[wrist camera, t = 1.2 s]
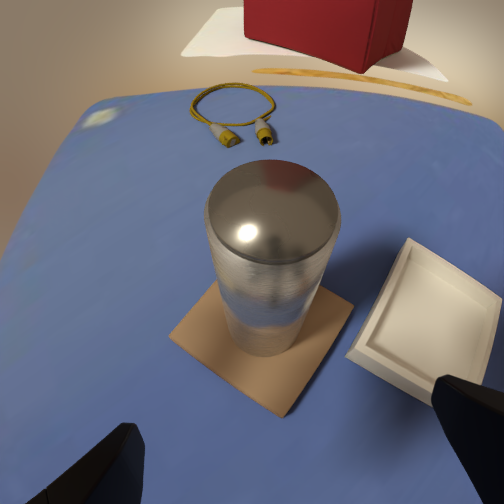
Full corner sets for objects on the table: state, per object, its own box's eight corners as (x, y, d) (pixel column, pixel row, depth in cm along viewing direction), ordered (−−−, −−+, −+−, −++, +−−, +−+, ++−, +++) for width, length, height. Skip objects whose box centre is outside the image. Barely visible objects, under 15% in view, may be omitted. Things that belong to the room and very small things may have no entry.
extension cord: (169, 148, 35) (166, 135, 34) (204, 87, 44) (203, 76, 42) (271, 156, 34) (271, 142, 33) (283, 92, 43) (284, 81, 41)
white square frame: (487, 310, 23) (502, 298, 21) (452, 418, 18) (470, 414, 16) (398, 252, 27) (408, 237, 25) (344, 356, 22) (354, 347, 20)
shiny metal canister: (313, 314, 23) (364, 192, 12) (273, 371, 21) (297, 293, 10) (255, 278, 24) (256, 141, 13) (213, 330, 22) (173, 216, 11)
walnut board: (350, 310, 24) (354, 305, 23) (281, 418, 20) (282, 417, 19) (248, 249, 27) (248, 242, 26) (171, 340, 23) (168, 336, 22)
